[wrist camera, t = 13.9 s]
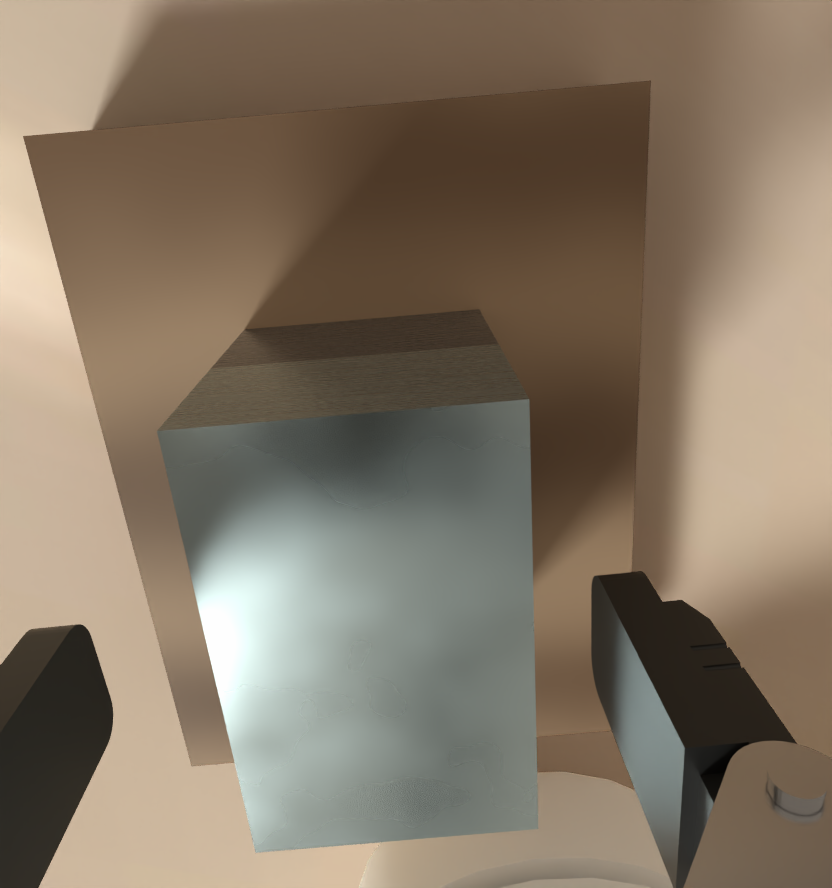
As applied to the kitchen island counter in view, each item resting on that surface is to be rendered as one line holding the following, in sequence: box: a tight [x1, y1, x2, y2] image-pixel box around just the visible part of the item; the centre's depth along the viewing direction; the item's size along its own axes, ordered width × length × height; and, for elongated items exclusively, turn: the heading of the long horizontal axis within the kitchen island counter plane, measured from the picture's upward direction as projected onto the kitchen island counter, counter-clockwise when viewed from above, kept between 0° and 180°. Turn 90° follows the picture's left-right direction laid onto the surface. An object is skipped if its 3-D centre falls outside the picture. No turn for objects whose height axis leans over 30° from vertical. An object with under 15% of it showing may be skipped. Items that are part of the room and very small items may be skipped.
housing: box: [157, 309, 538, 853], centre depth 14 cm, size 5×8×6 cm, turn 5°
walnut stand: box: [23, 81, 651, 766], centre depth 18 cm, size 16×12×3 cm
